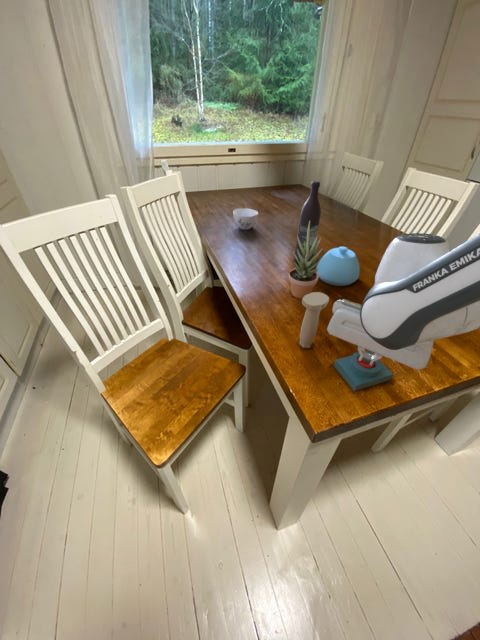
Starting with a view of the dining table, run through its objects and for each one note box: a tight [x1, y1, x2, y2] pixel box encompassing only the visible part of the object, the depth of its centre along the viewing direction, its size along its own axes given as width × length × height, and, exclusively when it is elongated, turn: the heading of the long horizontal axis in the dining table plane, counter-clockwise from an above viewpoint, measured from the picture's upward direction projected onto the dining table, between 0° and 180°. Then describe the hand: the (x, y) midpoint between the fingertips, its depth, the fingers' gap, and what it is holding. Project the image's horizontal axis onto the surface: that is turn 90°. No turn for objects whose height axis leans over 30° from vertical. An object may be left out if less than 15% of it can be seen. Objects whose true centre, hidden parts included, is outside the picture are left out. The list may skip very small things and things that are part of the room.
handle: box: [299, 291, 330, 349], centre depth 68 cm, size 5×6×15 cm
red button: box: [357, 357, 375, 369], centre depth 63 cm, size 4×4×2 cm
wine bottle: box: [293, 180, 322, 267], centre depth 100 cm, size 7×7×30 cm
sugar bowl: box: [315, 246, 361, 287], centre depth 97 cm, size 15×15×12 cm
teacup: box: [232, 207, 259, 230], centre depth 138 cm, size 15×12×8 cm
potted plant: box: [288, 221, 325, 299], centre depth 84 cm, size 10×10×25 cm
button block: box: [333, 350, 394, 392], centre depth 64 cm, size 10×8×4 cm
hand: (365, 361), depth 63 cm, fingers closed, pressing on red button
